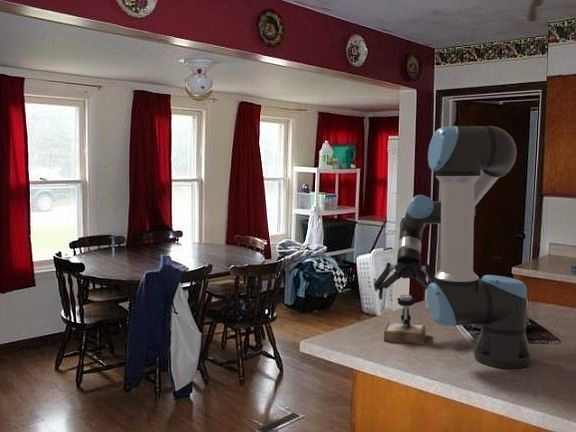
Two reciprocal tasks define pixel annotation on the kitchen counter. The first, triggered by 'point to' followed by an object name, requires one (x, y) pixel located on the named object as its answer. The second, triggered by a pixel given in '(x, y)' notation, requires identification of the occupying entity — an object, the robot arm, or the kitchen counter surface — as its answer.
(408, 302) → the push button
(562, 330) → the kitchen counter surface
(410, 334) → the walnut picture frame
